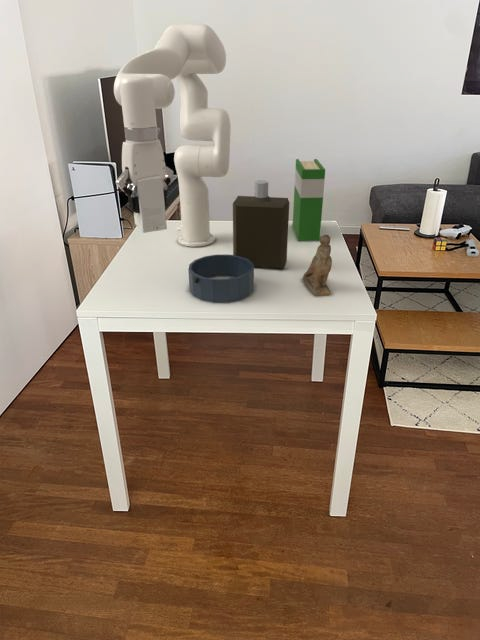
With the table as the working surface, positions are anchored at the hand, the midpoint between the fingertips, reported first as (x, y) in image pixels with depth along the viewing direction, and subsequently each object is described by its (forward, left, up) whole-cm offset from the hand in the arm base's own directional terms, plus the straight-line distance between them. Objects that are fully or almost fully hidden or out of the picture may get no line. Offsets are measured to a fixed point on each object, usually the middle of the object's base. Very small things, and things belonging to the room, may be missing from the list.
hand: (148, 208), depth 120 cm
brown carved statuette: (+31, +32, -23) cm, 50 cm away
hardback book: (+1, +66, -23) cm, 70 cm away
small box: (0, 0, -5) cm, 5 cm away
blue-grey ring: (+13, +13, -23) cm, 29 cm away
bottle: (+9, +33, -23) cm, 41 cm away
